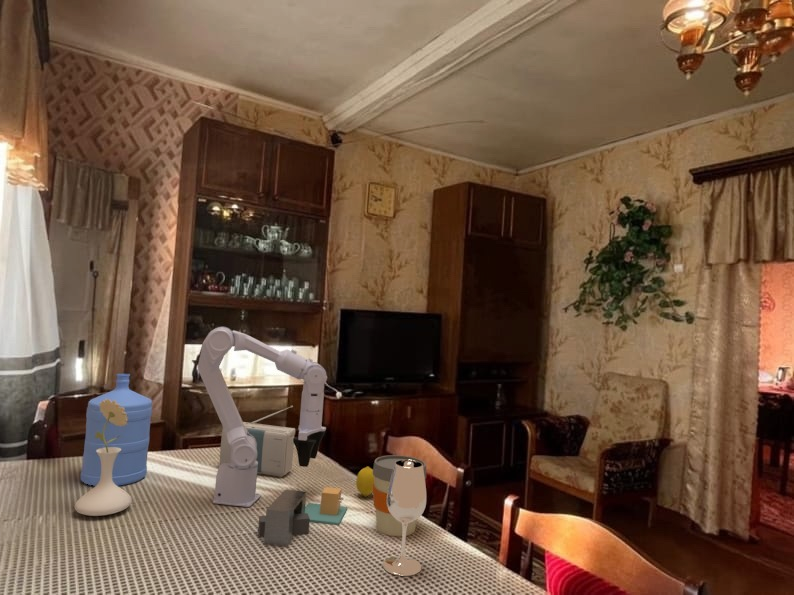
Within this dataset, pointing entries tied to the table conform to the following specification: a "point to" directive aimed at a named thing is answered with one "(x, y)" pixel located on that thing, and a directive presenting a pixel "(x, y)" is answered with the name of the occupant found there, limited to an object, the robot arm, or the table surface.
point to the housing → (283, 517)
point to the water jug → (130, 438)
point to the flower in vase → (106, 471)
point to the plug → (330, 501)
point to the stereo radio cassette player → (267, 447)
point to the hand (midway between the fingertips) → (307, 462)
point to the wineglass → (405, 509)
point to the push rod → (299, 524)
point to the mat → (316, 517)
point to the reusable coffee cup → (380, 489)
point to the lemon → (365, 481)
